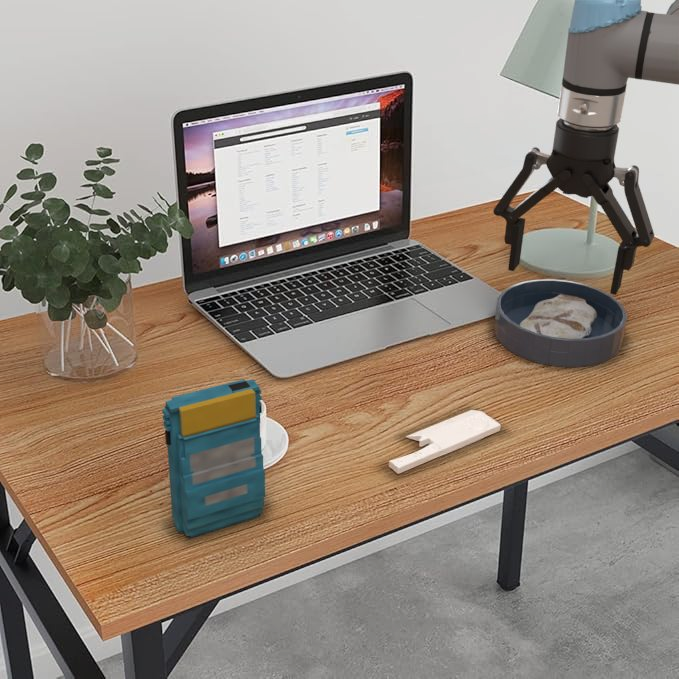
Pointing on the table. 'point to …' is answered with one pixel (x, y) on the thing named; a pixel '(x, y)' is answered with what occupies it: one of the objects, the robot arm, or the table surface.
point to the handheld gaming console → (215, 457)
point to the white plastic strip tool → (446, 438)
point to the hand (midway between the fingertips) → (563, 278)
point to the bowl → (555, 350)
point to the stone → (561, 317)
